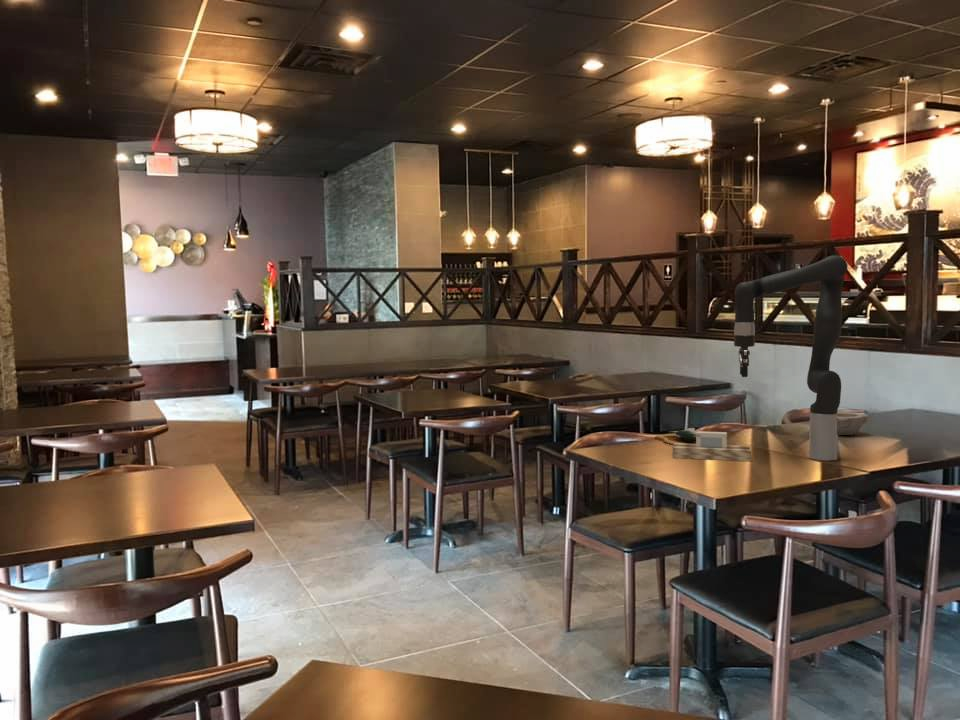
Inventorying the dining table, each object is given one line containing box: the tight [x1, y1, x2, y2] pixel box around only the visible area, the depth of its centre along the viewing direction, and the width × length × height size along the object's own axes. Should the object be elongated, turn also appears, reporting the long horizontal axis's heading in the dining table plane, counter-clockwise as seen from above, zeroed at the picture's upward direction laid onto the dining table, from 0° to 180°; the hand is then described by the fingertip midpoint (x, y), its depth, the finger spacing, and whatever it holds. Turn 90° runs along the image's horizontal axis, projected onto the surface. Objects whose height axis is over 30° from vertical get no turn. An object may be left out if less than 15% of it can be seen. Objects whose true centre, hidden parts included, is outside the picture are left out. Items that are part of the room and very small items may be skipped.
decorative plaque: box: [654, 427, 696, 446], centre depth 311 cm, size 30×7×20 cm
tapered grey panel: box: [695, 430, 728, 449], centre depth 283 cm, size 11×3×8 cm, turn 74°
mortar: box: [837, 411, 870, 436], centre depth 329 cm, size 17×17×9 cm
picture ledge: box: [672, 443, 752, 462], centre depth 283 cm, size 28×10×4 cm, turn 75°
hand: (743, 375), depth 290 cm, fingers open, 8 cm apart
